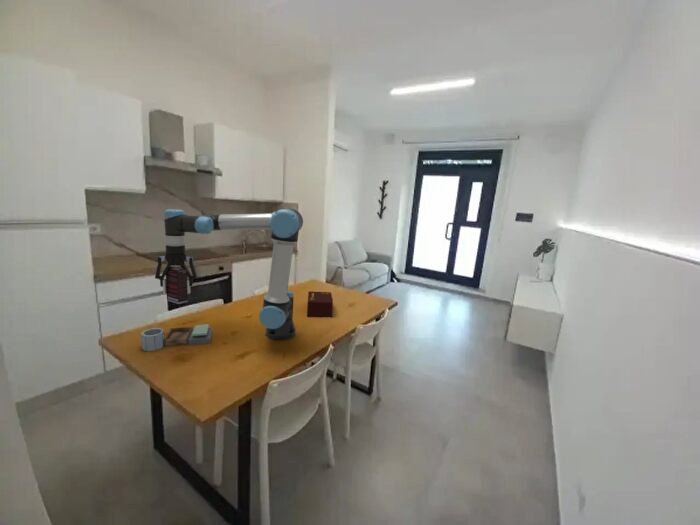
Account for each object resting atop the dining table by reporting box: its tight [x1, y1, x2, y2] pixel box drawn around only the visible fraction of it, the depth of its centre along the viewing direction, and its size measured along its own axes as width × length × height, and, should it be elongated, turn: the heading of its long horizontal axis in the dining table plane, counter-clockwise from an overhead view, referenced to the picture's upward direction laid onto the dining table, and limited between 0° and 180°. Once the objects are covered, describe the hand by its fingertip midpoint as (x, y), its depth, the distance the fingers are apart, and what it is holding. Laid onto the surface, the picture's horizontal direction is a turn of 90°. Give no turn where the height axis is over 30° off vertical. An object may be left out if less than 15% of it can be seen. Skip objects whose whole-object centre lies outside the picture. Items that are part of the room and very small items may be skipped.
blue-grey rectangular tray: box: [187, 327, 214, 346], centre depth 144 cm, size 9×12×2 cm
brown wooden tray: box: [163, 326, 194, 348], centre depth 141 cm, size 10×14×3 cm
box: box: [306, 291, 334, 318], centre depth 190 cm, size 21×16×10 cm
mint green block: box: [192, 323, 210, 336], centre depth 143 cm, size 6×10×4 cm, turn 19°
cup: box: [140, 327, 165, 352], centre depth 132 cm, size 8×8×7 cm
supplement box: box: [165, 265, 189, 305], centre depth 136 cm, size 9×5×16 cm, turn 64°
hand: (177, 293), depth 137 cm, fingers closed on supplement box, 9 cm apart
